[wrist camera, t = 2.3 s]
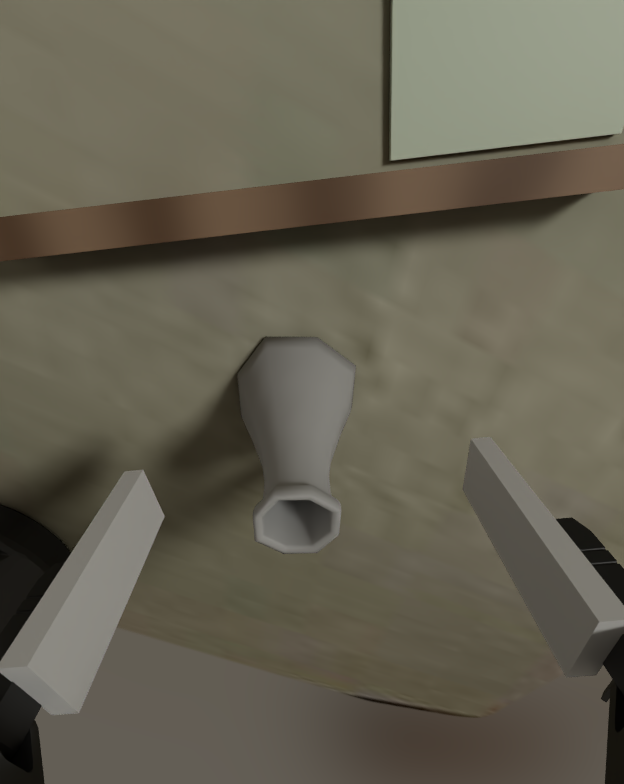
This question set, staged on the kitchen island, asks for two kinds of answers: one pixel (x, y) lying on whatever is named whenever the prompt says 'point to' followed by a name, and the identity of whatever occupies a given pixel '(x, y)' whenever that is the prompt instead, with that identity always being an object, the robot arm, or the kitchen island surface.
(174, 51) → the kitchen island surface
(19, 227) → the rail
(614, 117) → the board
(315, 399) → the flask
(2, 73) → the kitchen island surface
